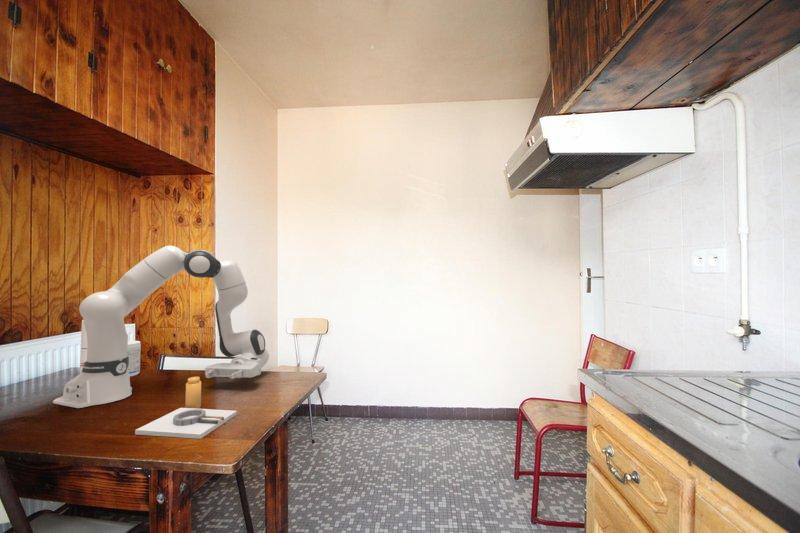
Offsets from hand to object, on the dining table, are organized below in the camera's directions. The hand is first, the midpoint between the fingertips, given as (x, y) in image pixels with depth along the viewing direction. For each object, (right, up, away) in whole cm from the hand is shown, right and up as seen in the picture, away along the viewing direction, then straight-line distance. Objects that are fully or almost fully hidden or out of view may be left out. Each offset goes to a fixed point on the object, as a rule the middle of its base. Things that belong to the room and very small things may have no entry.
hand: (219, 376), depth 122 cm
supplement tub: (-56, -8, +25) cm, 61 cm away
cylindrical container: (-72, -8, +25) cm, 76 cm away
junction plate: (+5, -6, -24) cm, 25 cm away
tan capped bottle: (-2, -7, -12) cm, 14 cm away
